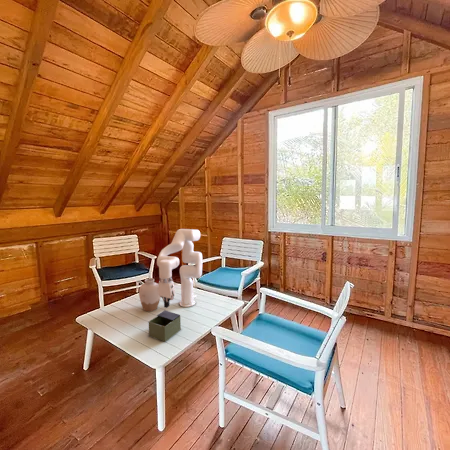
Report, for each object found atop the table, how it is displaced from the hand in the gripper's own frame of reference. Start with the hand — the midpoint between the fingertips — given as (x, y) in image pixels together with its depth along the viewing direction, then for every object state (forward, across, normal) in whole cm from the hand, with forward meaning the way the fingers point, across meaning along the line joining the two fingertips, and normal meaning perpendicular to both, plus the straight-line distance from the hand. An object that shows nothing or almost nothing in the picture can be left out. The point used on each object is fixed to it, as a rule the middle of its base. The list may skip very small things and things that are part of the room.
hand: (166, 306), depth 159 cm
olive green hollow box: (+16, 0, +3) cm, 17 cm away
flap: (+7, 0, -1) cm, 7 cm away
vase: (+17, +32, -17) cm, 40 cm away
